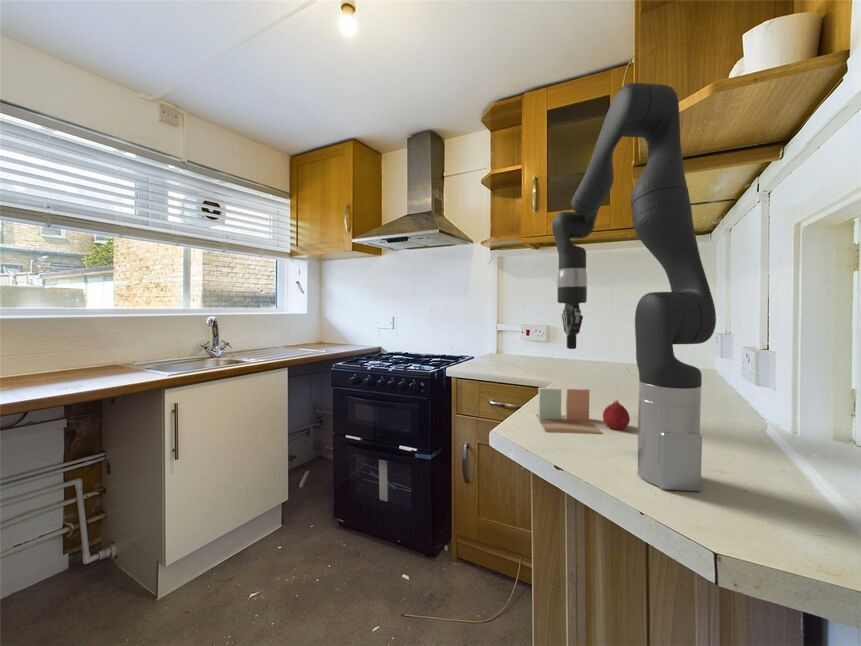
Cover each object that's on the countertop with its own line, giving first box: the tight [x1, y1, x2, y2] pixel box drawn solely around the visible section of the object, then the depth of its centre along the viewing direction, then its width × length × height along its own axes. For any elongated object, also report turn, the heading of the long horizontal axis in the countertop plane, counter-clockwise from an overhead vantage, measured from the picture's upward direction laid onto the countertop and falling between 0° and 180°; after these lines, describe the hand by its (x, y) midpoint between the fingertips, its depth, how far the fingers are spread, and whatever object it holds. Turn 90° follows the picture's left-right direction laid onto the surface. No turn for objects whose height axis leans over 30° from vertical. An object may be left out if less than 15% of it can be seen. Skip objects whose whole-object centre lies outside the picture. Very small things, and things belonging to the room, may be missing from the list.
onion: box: [602, 399, 631, 431], centre depth 89 cm, size 6×6×8 cm
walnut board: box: [535, 414, 604, 435], centre depth 93 cm, size 14×13×1 cm
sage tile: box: [537, 387, 562, 420], centre depth 97 cm, size 2×6×8 cm, turn 83°
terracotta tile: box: [565, 387, 590, 420], centre depth 96 cm, size 2×6×8 cm, turn 83°
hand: (571, 348), depth 102 cm, fingers closed
